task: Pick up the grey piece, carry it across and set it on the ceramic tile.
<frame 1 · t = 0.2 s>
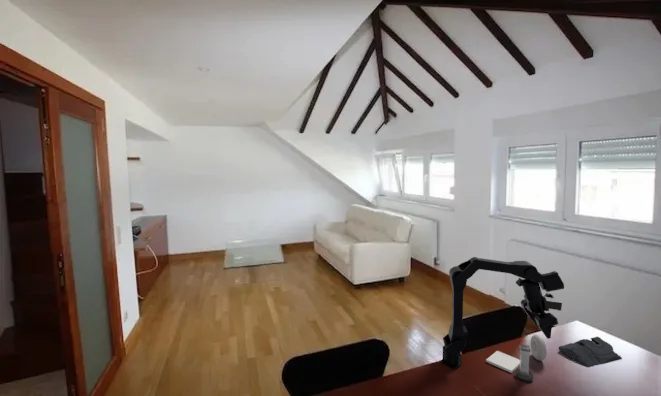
hand: (543, 332, 127), 16 cm above the table, tool pointing down, fingers open, 9 cm apart
grey piece: (524, 377, 125), on the table
dark flat piece: (587, 354, 140), on the table
donut: (537, 359, 137), on the table
ceramic tile: (504, 362, 135), on the table
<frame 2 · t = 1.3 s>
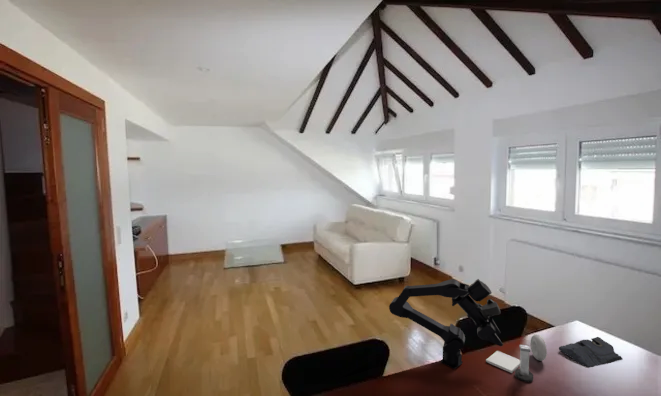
hand: (500, 339, 127), 13 cm above the table, tool tilted 45°, fingers open, 9 cm apart
nothing on the table moved.
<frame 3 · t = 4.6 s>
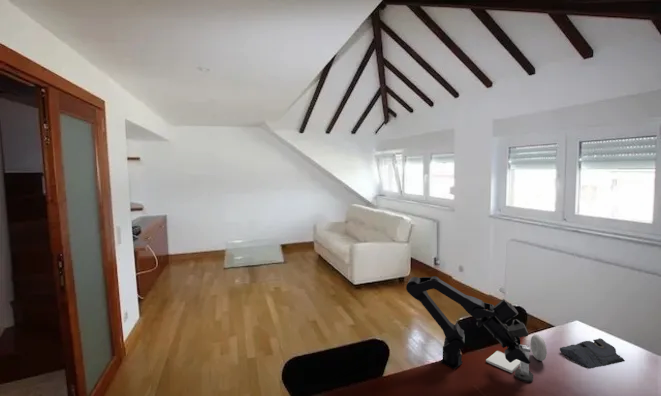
hand: (528, 361, 124), 7 cm above the table, tool tilted 45°, fingers closed on grey piece, 2 cm apart
grey piece: (524, 377, 125), on the table, touching gripper
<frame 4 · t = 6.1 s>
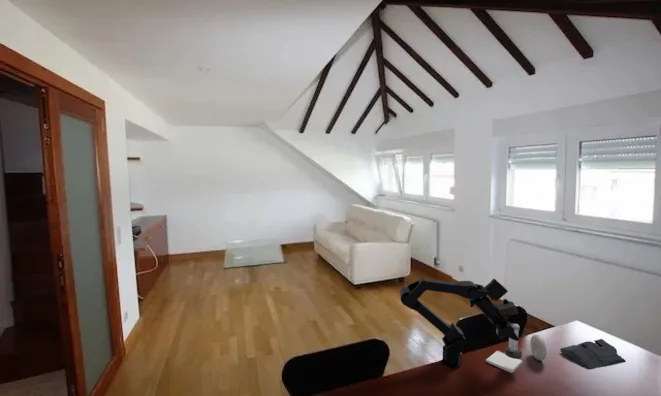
hand: (517, 338, 129), 13 cm above the table, tool tilted 45°, fingers closed on grey piece, 2 cm apart
grey piece: (512, 354, 130), point 6 cm above the table, touching gripper
when the fingers open (9 cm above the table, at t = 7.8 s): grey piece stays where it is, resting on ceramic tile.
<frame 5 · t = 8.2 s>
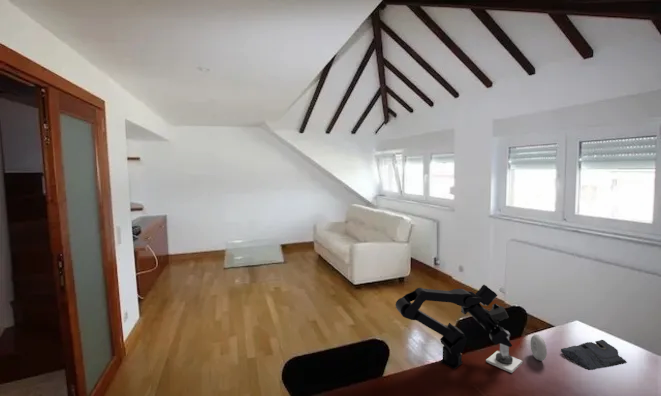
hand: (508, 341, 133), 9 cm above the table, tool tilted 45°, fingers open, 7 cm apart
grey piece: (504, 360, 134), point 1 cm above the table, touching ceramic tile
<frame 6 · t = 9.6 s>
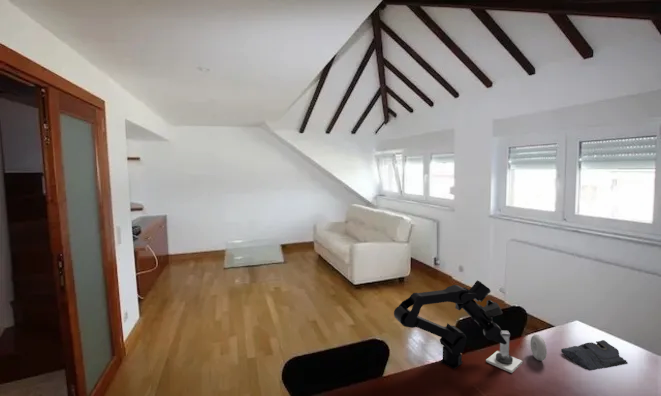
hand: (502, 337, 134), 11 cm above the table, tool tilted 45°, fingers open, 9 cm apart
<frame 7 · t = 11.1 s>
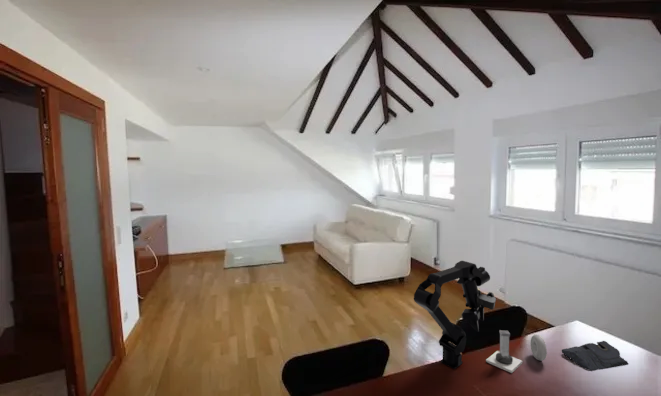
hand: (480, 325, 138), 13 cm above the table, tool pointing down, fingers open, 9 cm apart
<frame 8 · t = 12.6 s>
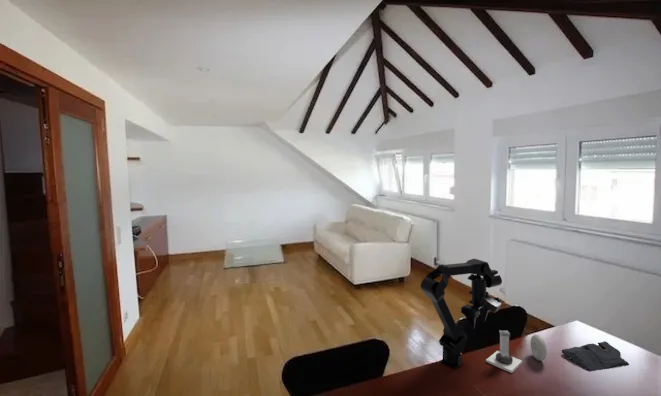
hand: (478, 325, 140), 13 cm above the table, tool pointing down, fingers open, 9 cm apart
at the end: grey piece inside the target area on the ceramic tile (0.0 cm from its centre), point 1.0 cm above the ceramic tile's base; grey piece tilted 0°; the gripper is holding nothing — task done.
